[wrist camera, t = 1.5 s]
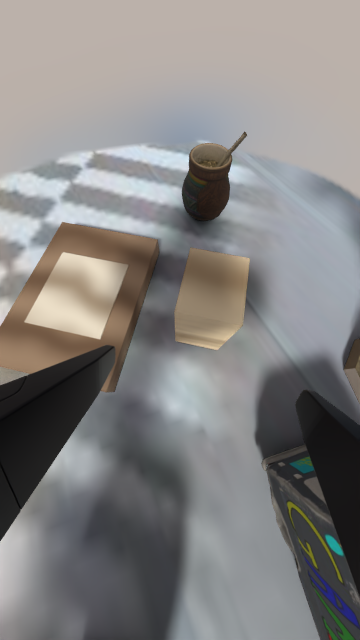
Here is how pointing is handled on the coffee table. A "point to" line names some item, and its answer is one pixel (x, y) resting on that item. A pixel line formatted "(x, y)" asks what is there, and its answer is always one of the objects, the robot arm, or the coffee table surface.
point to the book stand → (354, 368)
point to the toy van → (314, 544)
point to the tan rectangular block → (211, 298)
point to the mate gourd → (208, 180)
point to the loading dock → (79, 300)
